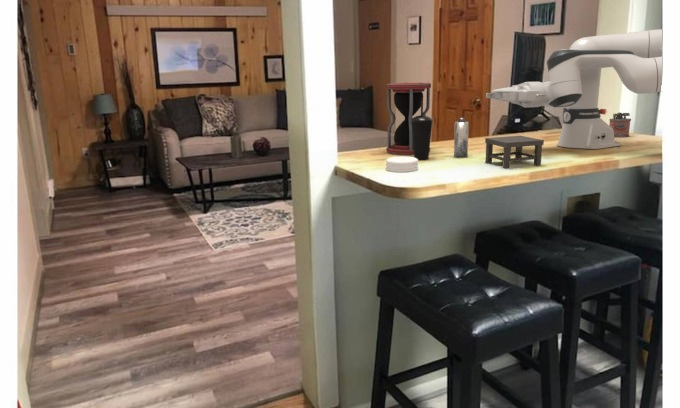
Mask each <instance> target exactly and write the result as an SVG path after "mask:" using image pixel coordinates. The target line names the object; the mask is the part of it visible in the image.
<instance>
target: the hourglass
mask: <svg viewBox="0 0 680 408" xmlns="http://www.w3.org/2000/svg"><path fill="white" fill-rule="evenodd" d="M431 88H432V83H431V82H399V83H398V82H397V83H386V91H387V99H386V100H387V107H386V108H387V111H388V113H389V114H390V117H391V121H390V123H389V125H388V127H387V147H386V152H387V153H388V154H392V155H399V156H400V155H401V156H414V148H413V136H412V124H411V121H410V119H412V118H413V117H414V115H416V113H417V112H418V111H419V110H421V100H423V101H424V93H423V92H425V90H426V102H425V103H426V106H425V110H423V115H424V116H427V113H428V112H429V110H430V103H431V102H430V101H431V100H430V99H431V98H430V96H431V93H430V92H431ZM391 90H392V91H391ZM391 92H393V94H394V95H393V102H394V106H395V107H396V110H398V112H399V113H400V114H401V115H402V116H403V117H404V120H403V121H401V123H400V124H399V125H398V126H397V128H396V129H395V131H394V136H393V142H394V143H393V144H391V143H392V142H391V141H392V140H391V138H392V131H391V130H392V127H393V125H395V122H396V116H395V113H394V112H393V111H392V108H391V107H392V106H391V105H392V104H391V100H392V98H391V96H392V95H391ZM430 151H431V148H430V149H429V153H430Z"/></svg>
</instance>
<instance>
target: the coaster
mask: <svg viewBox="0 0 680 408" xmlns="http://www.w3.org/2000/svg"><path fill="white" fill-rule="evenodd" d="M385 162H386V163H385V166H386V167H385V169H386V170H387V172H391V171H393V172H392V173H411V172H410V171H412V172H415V170H416V171H418V169H419V167H418V166H419V163H418V162H419V160H418V159H417V158H414V156H413V157H412V156H405V155H401V156H391V157H388V158H387V159H385Z"/></svg>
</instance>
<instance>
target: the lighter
mask: <svg viewBox="0 0 680 408" xmlns="http://www.w3.org/2000/svg"><path fill="white" fill-rule="evenodd" d="M630 116H631V115H630V112H617V113H613V114H612V117H613V118H609V124H608V125H609V126H610V127H612V128H613V130H614V139H615V138H616V139H617V138H624V139H625V138H630V127H631V121H632V119H631V118H627V117H630Z"/></svg>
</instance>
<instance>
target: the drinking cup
mask: <svg viewBox="0 0 680 408" xmlns="http://www.w3.org/2000/svg"><path fill="white" fill-rule="evenodd" d="M423 112H424V99H423V100H421V107H420V114H419V115H416V116H413V117H412V119H410V121H411V124H412V136H413V148H414V155H413V157H414V158H417V159H418V161H426V160H429V158H430V152H429V149H430V150H431V139H432V138H431V137H432V127H433V121H434V118H432V117H430V116H428V115H426V116H424V115H423Z"/></svg>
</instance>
